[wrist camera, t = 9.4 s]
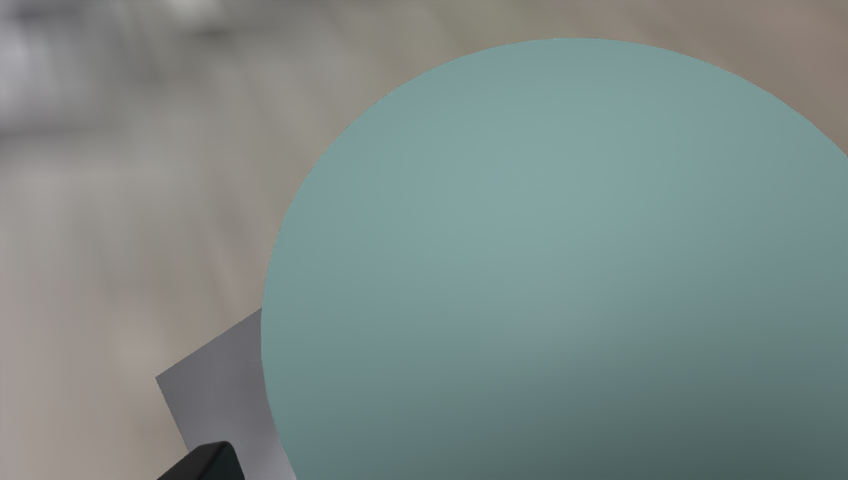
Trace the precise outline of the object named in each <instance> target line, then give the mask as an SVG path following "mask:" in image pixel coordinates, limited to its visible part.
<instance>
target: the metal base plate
mask: <svg viewBox="0 0 848 480" xmlns="http://www.w3.org/2000/svg"><path fill="white" fill-rule="evenodd" d="M261 312H262V308H261V309H259V310H258V311H256V312H255V313H253V314H252V315H250V316H249V317H247V318H245V319H244V320H242V321H241V322H239V323H238V324H236V325H235V326H233V327H232V328H230V329H229V330H227V331H226V332H224V333H223V334H221V335H219V336H218V337H216V338H215V339H213V340H212V341H210V342H209V343H207V344H206V345H204V346H203V347H201V348H200V349H198V350H197V351H195V352H194V353H192V354H190V355H189V356H187V357H186V358H184V359H183V360H181V361H180V362H178V363H177V364H175V365H174V366H172V367H171V368H169V369H168V370H166V371H165V372H163V373H161V374H160V375H158V376H157V377H155V378H156V380H157V382H158V385H159V387H160V389H161V391H162V393H163V396H164V398H165V400H166V402H167V404H168V407H169V409H170V411H171V413H172V416H173V418H174V420H175V422H176V424H177V427H178V429H179V431H180V433H181V435H182V438H183V440H184V442H185V444H186V446H187V449H188V451H189V453H190V452H191V451H192V450H194V449H195V448H196V447H197V446H199V445H202V444H207V443H213V442H219V441H228V442H230V443H231V444H232V446H233V447H234V449H235V452H236V454H237V457H238V460H239V463H240V465H241V468H242V471H243V473H244V476H245V479H246V480H297V478H296V476H295V474H294V471H293V469H292V467H291V465H290V462H289V460H288V458H287V456H286V453H285V451H284V449H283V447H282V444H281V442H280V440H279V436H278V433H277V430H276V426H275V423H274V419H273V416H272V412H271V409H270V405H269V402H268V398H267V392H266V385H265V379H264V372H263V365H262V359H261Z"/></svg>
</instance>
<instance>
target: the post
mask: <svg viewBox="0 0 848 480" xmlns="http://www.w3.org/2000/svg"><path fill="white" fill-rule="evenodd" d="M261 359H262V365H263V372H264V379H265V385H266V392H267V398H268V402H269V405H270V409H271V412H272V416H273V419H274V423H275V426H276V430H277V433H278V436H279V440H280V442H281V444H282V447H283V449H284V451H285V453H286V456H287V458H288V460H289V462H290V465H291V467H292V469H293V471H294V474H295V476H296V478H297V480H848V157H847V156H846V155H845V154H844V153H843V152H842V151H841V150H840V149H839V147H838V146H837V145H835V144H834V143H833V142H832V141H831V140H830V139H829V138H828V137H826V136H825V135H824V134H823V133H822V132H821V131H820V130H819V129H817V128H816V127H815V126H814V125H813V124H812V123H811V122H810V121H809V120H807V119H806V118H805V117H803V116H802V115H800V114H799V113H798V112H796V111H795V110H793V109H792V108H791V107H789V106H788V105H786V104H785V103H784V102H782V101H781V100H779V99H778V98H777V97H775V96H773V95H772V94H770V93H768V92H766V91H765V90H763V89H761V88H759V87H758V86H756V85H754V84H752V83H750V82H749V81H747V80H745V79H743V78H742V77H740V76H737V75H735V74H733V73H730V72H728V71H726V70H723V69H721V68H719V67H717V66H714V65H712V64H710V63H707V62H705V61H702V60H699V59H696V58H692V57H689V56H686V55H683V54H680V53H677V52H674V51H671V50H666V49H662V48H657V47H652V46H648V45H643V44H638V43H634V42H625V41H616V40H607V39H598V38H556V39H544V40H533V41H524V42H519V43H514V44H509V45H503V46H498V47H493V48H489V49H486V50H483V51H479V52H476V53H473V54H469V55H466V56H463V57H460V58H457V59H455V60H452V61H450V62H447V63H445V64H443V65H440V66H438V67H435V68H433V69H431V70H428V71H427V72H425V73H423V74H421V75H419V76H417V77H416V78H414V79H412V80H410V81H408V82H406V83H405V84H403V85H401V86H399V87H398V88H396V89H395V90H393V91H392V92H390V93H389V94H388V95H386V96H385V97H383V98H382V99H380V100H379V101H378V102H376V103H375V104H373V105H372V106H371V107H370V108H368V109H367V110H366V111H365V112H364V113H363V114H362V115H360V116H359V117H358V118H357V119H356V120H355V121H354V122H352V123H351V124H350V125H349V126H348V127H347V128H346V129H345V130H344V131H343V132H342V133H341V134H340V135H339V137H338V138H337V139H336V140H335V141H334V142H333V143H332V144H331V145H330V146H329V148H328V149H327V150H326V151H325V152H324V153H323V155H322V156H321V157H320V159H319V160H318V162H317V163H316V164H315V166H314V167H313V169H312V170H311V171H310V173H309V174H308V176H307V177H306V178H305V180H304V181H303V183H302V185H301V187H300V189H299V191H298V192H297V194H296V196H295V198H294V200H293V202H292V204H291V205H290V207H289V209H288V211H287V213H286V216H285V218H284V221H283V223H282V226H281V229H280V231H279V234H278V236H277V239H276V241H275V244H274V247H273V251H272V255H271V259H270V263H269V267H268V271H267V275H266V279H265V286H264V295H263V304H262V312H261Z"/></svg>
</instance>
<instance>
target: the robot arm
mask: <svg viewBox="0 0 848 480" xmlns="http://www.w3.org/2000/svg"><path fill="white" fill-rule="evenodd" d="M157 480H246V479H245V476H244V473H243V471H242V468H241V465H240V463H239V460H238V457H237V454H236V452H235V449H234V447H233V446H232V444H231V443H230V442H228V441H219V442H213V443H207V444H202V445H199V446H197V447H196V448H195V449H194V450H192V451H191V452H190V453H189V454H187V455H186V456H185V457H184V458H183V459H181V460H180V461H179V462H178V463H176V464H175V465H174V466H173V467H172V468H170V469H169V470H168V471H167V472H165V473H164V474H163V475H162V476H161V477H159V478H158V479H157Z"/></svg>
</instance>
